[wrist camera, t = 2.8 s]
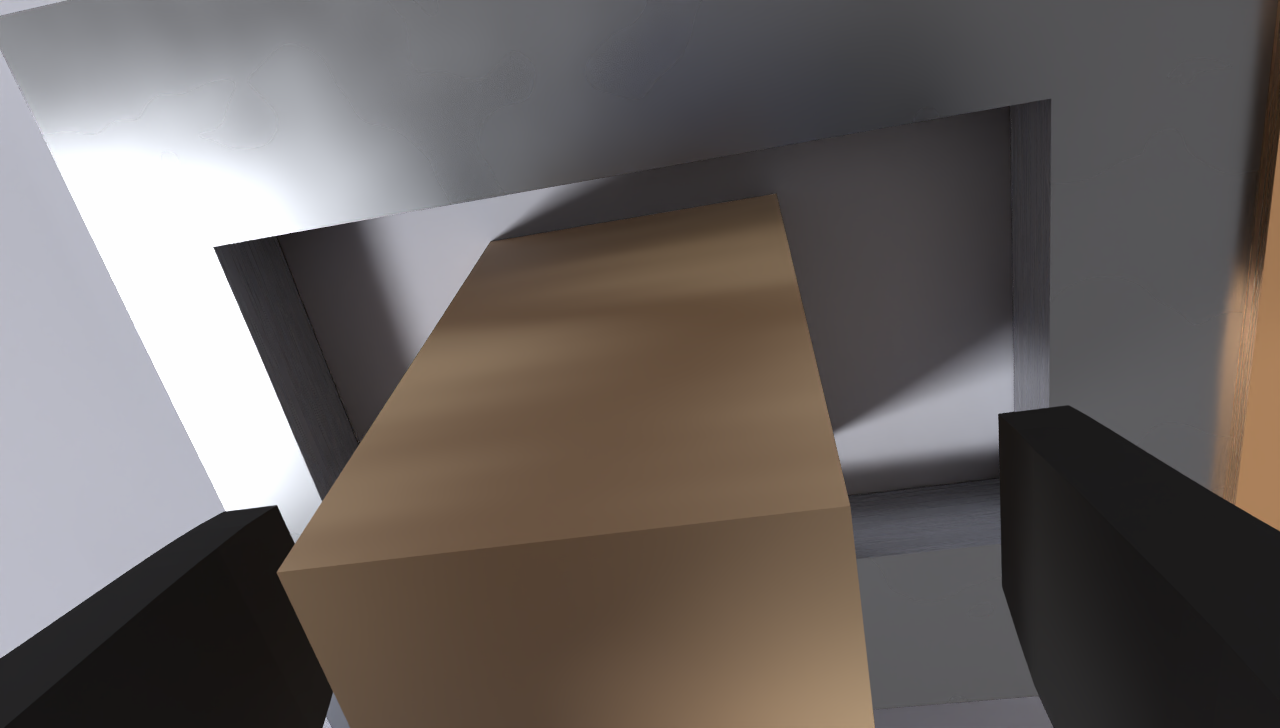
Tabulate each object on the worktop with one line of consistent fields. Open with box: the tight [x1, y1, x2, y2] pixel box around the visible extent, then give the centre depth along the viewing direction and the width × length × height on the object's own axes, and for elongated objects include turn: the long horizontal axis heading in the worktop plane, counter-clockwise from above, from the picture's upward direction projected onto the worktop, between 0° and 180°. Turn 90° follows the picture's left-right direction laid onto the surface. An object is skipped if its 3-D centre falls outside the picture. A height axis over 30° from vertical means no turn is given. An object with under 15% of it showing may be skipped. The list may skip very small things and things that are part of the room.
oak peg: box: [277, 194, 875, 728], centre depth 10 cm, size 4×4×7 cm
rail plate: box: [0, 0, 1280, 728], centre depth 11 cm, size 26×12×2 cm, turn 101°
